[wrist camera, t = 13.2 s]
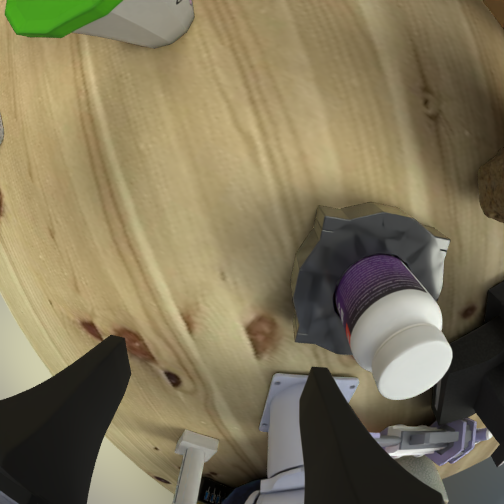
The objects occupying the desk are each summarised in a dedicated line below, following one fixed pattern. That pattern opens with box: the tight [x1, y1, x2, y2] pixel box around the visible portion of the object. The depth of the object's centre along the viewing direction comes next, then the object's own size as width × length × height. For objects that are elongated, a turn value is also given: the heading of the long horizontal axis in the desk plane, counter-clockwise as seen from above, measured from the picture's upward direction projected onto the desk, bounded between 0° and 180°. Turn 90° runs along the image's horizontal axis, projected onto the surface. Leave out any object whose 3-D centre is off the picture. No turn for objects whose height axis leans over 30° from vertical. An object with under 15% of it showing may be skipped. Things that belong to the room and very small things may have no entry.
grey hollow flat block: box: [290, 202, 450, 355], centre depth 19 cm, size 11×11×2 cm
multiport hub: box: [197, 478, 234, 504], centre depth 34 cm, size 4×11×2 cm
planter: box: [393, 455, 448, 504], centre depth 27 cm, size 12×12×11 cm
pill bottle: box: [333, 253, 452, 400], centre depth 16 cm, size 5×5×10 cm
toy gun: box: [369, 417, 492, 466], centre depth 24 cm, size 7×28×8 cm
